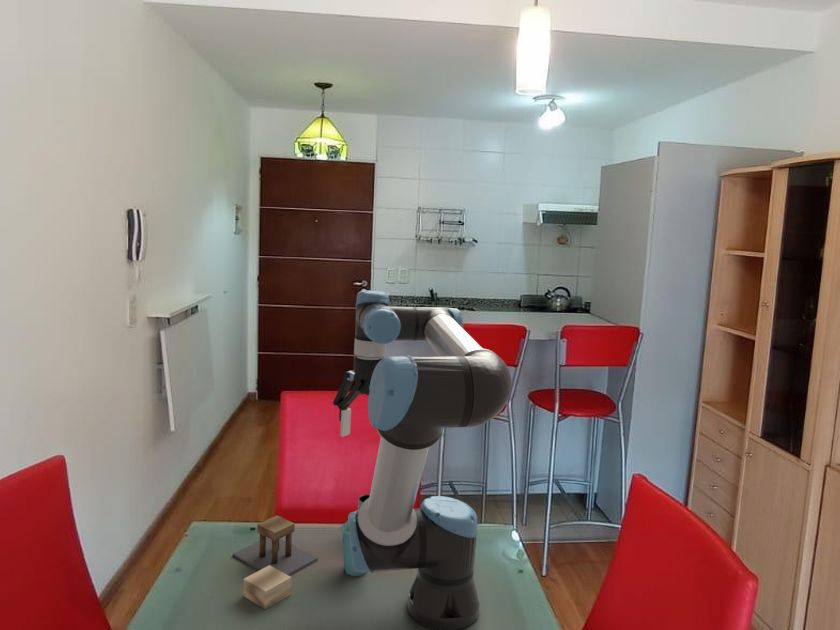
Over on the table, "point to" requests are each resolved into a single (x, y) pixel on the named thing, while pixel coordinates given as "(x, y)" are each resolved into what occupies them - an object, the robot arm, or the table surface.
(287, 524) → the stool
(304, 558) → the mat
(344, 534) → the cup
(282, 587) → the oak block
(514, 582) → the table surface
